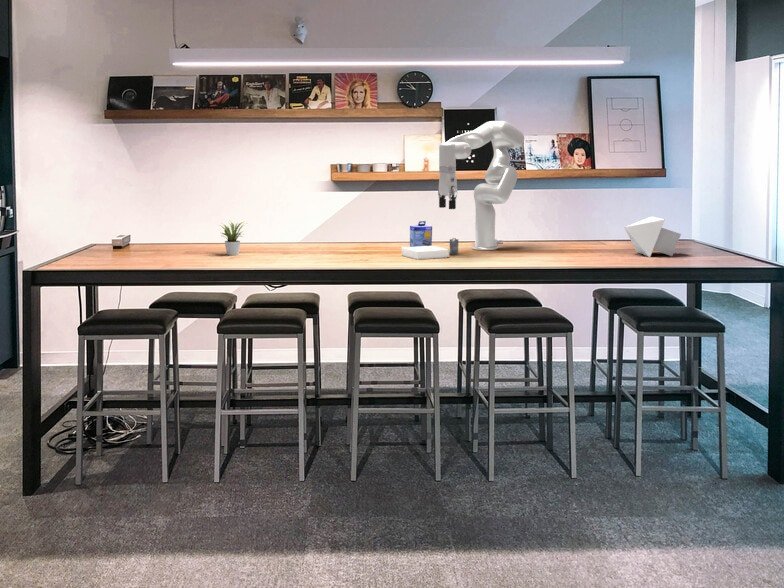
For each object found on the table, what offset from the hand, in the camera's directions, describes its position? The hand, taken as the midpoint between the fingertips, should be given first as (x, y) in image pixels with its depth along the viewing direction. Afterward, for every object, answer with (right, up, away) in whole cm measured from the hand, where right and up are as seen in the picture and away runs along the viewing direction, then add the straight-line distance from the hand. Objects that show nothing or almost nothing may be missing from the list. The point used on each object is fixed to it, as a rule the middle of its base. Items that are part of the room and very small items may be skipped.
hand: (447, 208), depth 368 cm
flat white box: (-10, -22, -3) cm, 25 cm away
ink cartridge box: (-12, -19, +16) cm, 28 cm away
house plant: (-98, -21, +5) cm, 100 cm away
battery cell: (+3, -21, +3) cm, 22 cm away
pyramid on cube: (+93, -21, +2) cm, 96 cm away
